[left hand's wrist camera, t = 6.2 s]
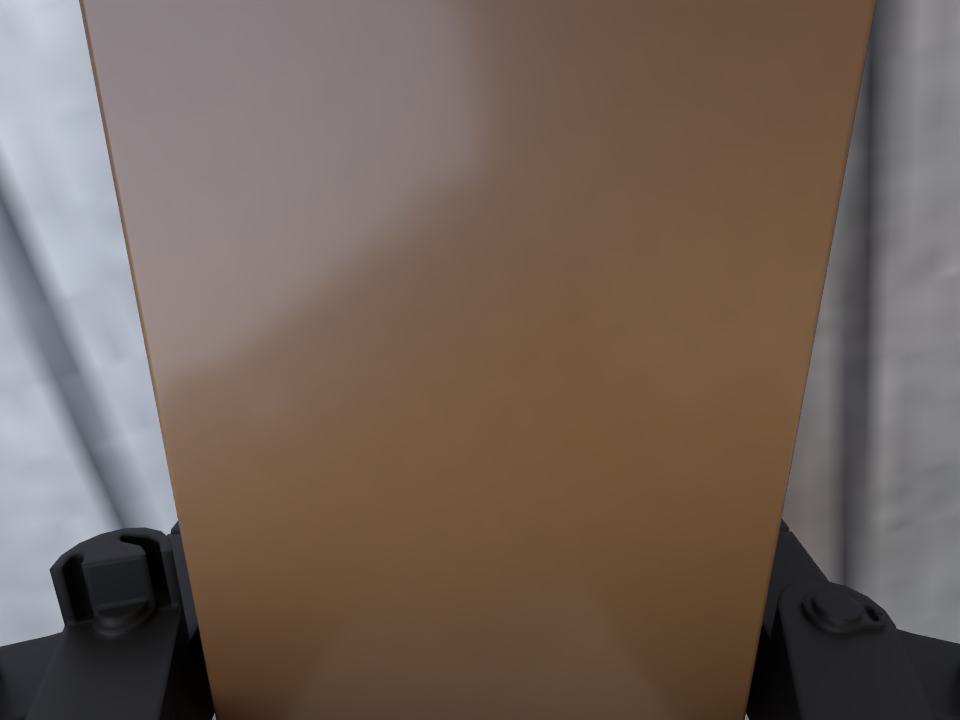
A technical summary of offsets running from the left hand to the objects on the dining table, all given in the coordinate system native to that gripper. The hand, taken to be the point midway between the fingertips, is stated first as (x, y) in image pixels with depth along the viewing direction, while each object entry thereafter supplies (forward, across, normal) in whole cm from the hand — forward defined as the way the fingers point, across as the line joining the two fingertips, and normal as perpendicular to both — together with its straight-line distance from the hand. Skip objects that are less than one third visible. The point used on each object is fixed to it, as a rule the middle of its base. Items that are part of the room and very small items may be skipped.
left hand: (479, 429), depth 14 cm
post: (+1, 0, -25) cm, 25 cm away
